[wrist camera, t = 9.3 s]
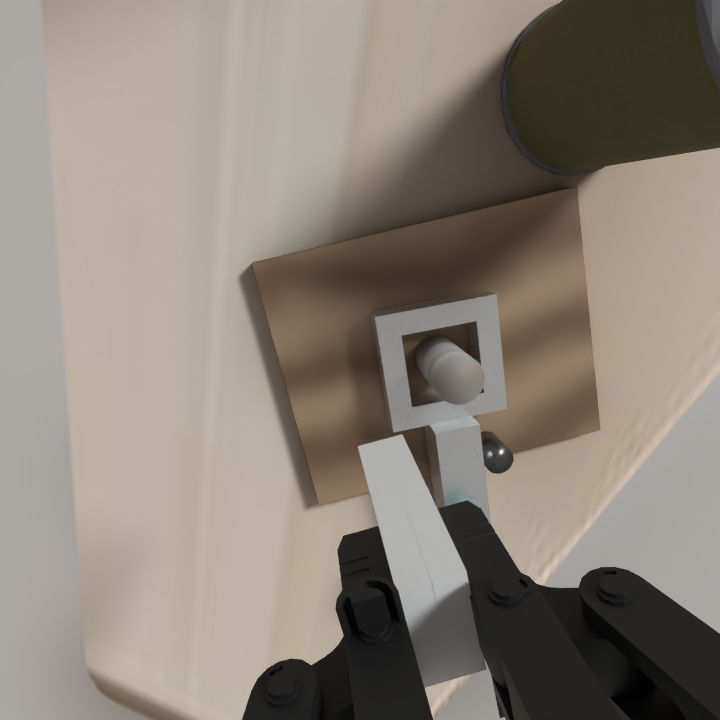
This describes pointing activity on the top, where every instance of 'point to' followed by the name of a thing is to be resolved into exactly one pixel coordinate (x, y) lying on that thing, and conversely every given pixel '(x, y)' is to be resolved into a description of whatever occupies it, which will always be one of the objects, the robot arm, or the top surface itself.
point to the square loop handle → (440, 419)
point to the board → (435, 331)
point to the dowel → (495, 453)
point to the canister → (614, 83)
